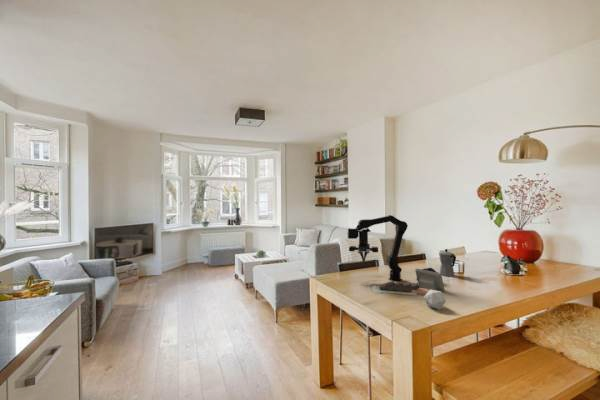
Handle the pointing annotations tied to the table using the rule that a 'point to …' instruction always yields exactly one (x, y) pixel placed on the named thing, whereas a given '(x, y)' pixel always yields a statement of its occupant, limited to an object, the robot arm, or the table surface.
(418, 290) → the domino
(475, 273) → the table surface
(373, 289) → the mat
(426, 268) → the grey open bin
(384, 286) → the domino
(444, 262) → the coffeepot
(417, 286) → the domino
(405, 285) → the domino
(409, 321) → the table surface
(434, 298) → the grey rock
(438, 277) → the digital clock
